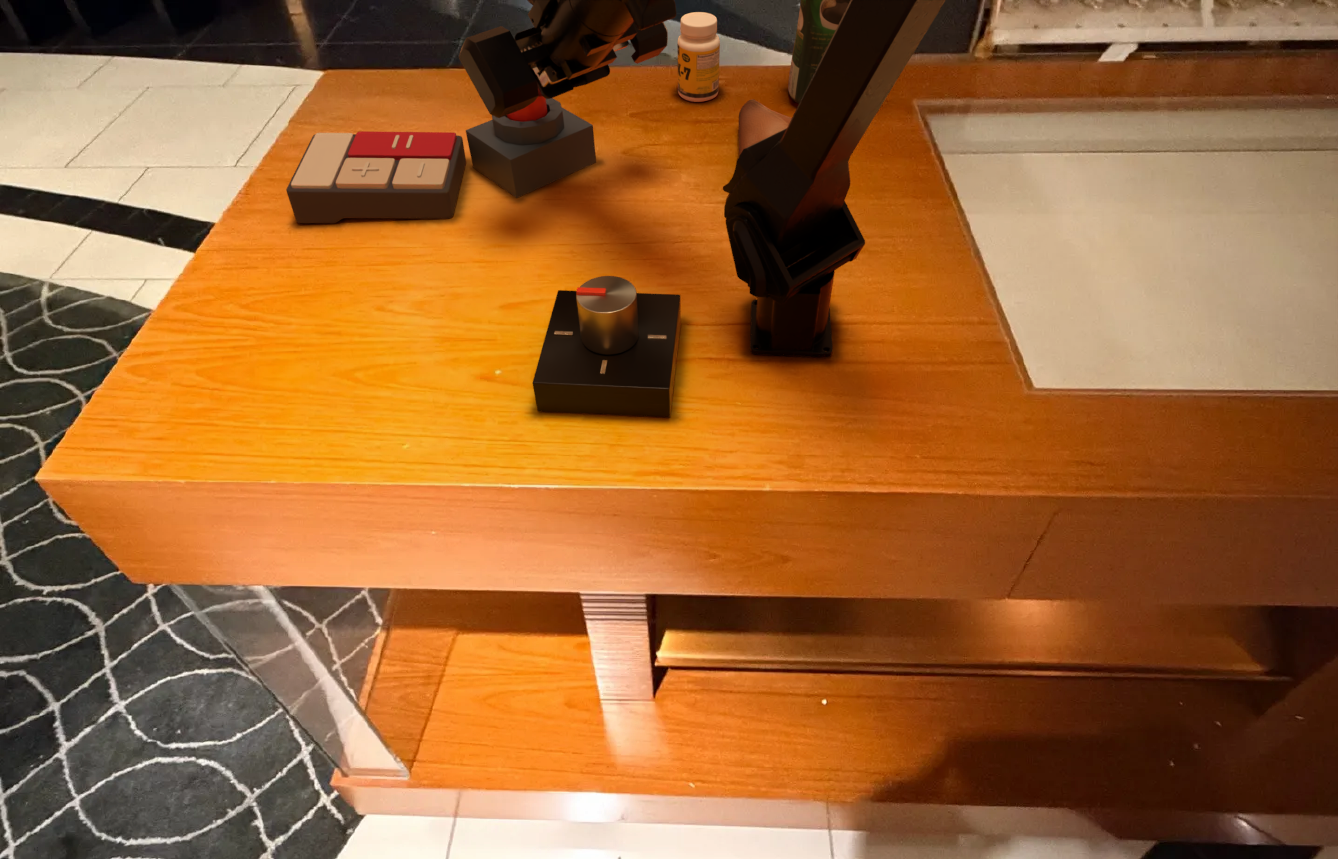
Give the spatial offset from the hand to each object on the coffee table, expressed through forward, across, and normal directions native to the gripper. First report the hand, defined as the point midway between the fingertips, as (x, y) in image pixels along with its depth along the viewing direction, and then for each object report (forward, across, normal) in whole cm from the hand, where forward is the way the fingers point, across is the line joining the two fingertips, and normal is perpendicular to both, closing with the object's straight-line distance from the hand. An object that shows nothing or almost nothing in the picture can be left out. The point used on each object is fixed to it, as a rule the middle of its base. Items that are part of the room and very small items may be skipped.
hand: (538, 90), depth 81 cm
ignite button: (+4, 0, 0) cm, 4 cm away
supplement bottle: (+8, -23, +4) cm, 25 cm away
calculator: (+13, +14, 0) cm, 19 cm away
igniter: (+8, 0, +4) cm, 9 cm away
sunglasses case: (-5, -18, +17) cm, 25 cm away
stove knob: (-15, +13, +23) cm, 31 cm away
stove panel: (-13, +13, +25) cm, 31 cm away
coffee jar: (+1, -34, +12) cm, 36 cm away
